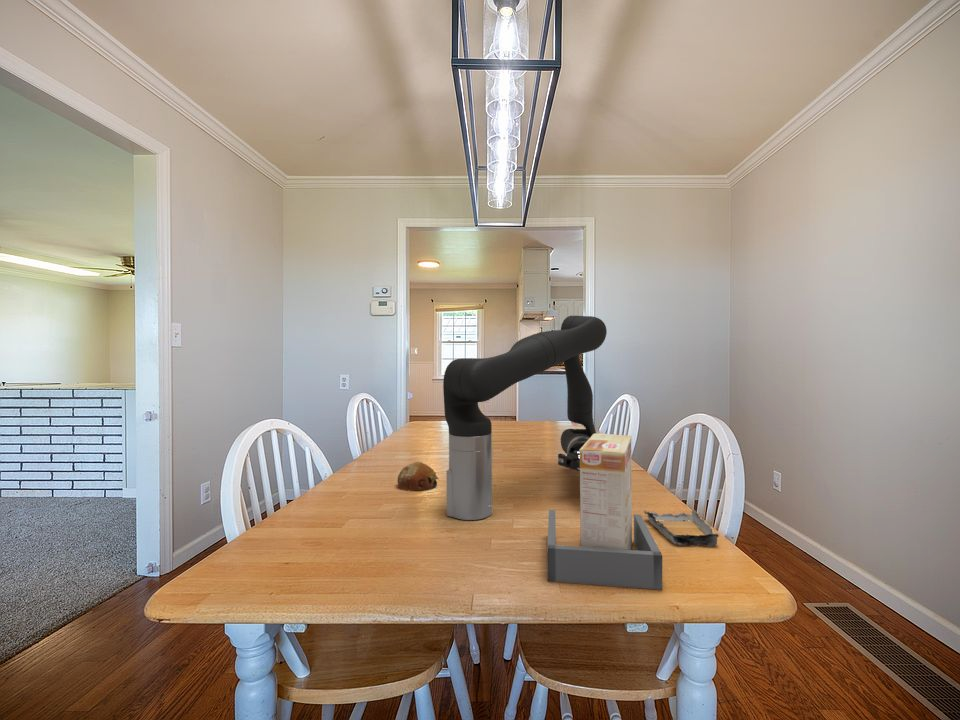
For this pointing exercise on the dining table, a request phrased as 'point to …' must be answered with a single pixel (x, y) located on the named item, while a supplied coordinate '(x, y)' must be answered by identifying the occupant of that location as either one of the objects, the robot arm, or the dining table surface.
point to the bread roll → (417, 477)
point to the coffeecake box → (606, 492)
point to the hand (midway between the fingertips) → (587, 469)
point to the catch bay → (606, 561)
